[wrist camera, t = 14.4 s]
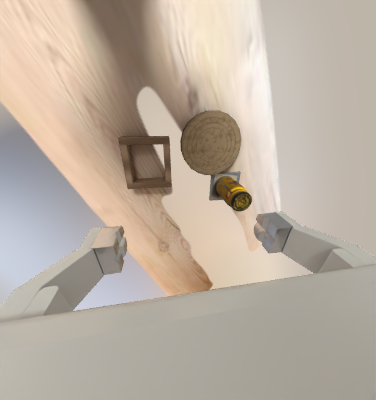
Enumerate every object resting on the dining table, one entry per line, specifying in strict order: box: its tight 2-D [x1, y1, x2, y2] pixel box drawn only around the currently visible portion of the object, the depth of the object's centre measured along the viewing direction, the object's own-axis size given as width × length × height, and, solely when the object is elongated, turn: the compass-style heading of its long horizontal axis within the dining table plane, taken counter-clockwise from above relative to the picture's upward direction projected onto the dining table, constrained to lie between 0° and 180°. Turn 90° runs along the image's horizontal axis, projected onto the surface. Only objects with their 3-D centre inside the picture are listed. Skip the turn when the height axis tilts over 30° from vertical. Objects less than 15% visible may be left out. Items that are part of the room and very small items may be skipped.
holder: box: [118, 136, 172, 189], centre depth 40 cm, size 13×12×4 cm
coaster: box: [209, 172, 240, 200], centre depth 49 cm, size 9×9×1 cm
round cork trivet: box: [180, 111, 241, 175], centre depth 41 cm, size 16×16×3 cm
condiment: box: [210, 174, 252, 211], centre depth 43 cm, size 7×8×12 cm
